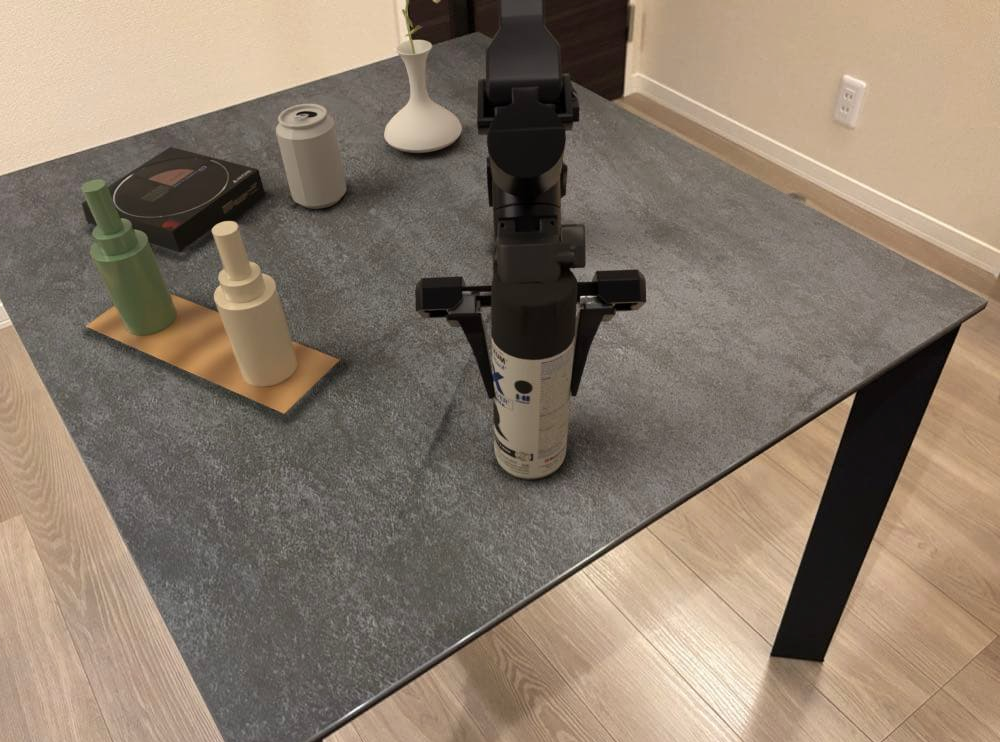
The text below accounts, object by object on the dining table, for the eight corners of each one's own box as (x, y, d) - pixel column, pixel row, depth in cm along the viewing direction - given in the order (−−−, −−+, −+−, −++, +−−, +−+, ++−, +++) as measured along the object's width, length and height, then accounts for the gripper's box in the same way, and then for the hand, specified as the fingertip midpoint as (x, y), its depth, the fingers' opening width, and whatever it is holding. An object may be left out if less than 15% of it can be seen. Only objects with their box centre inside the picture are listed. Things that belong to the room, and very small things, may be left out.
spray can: (490, 429, 79) (483, 259, 64) (560, 422, 79) (570, 251, 64) (499, 484, 74) (494, 314, 60) (573, 476, 74) (586, 305, 60)
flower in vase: (462, 158, 117) (447, -32, 100) (382, 163, 118) (354, -25, 100) (463, 116, 127) (449, -65, 109) (389, 121, 127) (364, -58, 110)
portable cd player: (176, 171, 121) (167, 145, 118) (265, 195, 114) (258, 169, 111) (90, 228, 111) (78, 202, 108) (182, 258, 104) (172, 231, 102)
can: (356, 186, 114) (341, 102, 106) (333, 215, 109) (315, 129, 101) (308, 180, 116) (289, 97, 108) (283, 208, 111) (261, 124, 103)
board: (341, 366, 87) (340, 359, 87) (286, 420, 82) (284, 413, 82) (147, 290, 100) (144, 283, 99) (88, 332, 95) (85, 325, 94)
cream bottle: (230, 382, 85) (179, 243, 74) (256, 345, 89) (212, 207, 78) (282, 390, 84) (238, 250, 72) (307, 352, 88) (269, 213, 76)
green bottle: (113, 331, 93) (49, 198, 81) (142, 299, 97) (85, 167, 85) (159, 339, 91) (101, 204, 80) (187, 306, 95) (135, 172, 83)
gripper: (403, 192, 62) (408, 399, 62) (654, 180, 61) (660, 392, 61) (421, 225, 73) (426, 401, 73) (634, 216, 72) (639, 395, 72)
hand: (532, 397), depth 69 cm, fingers closed on spray can, 6 cm apart
